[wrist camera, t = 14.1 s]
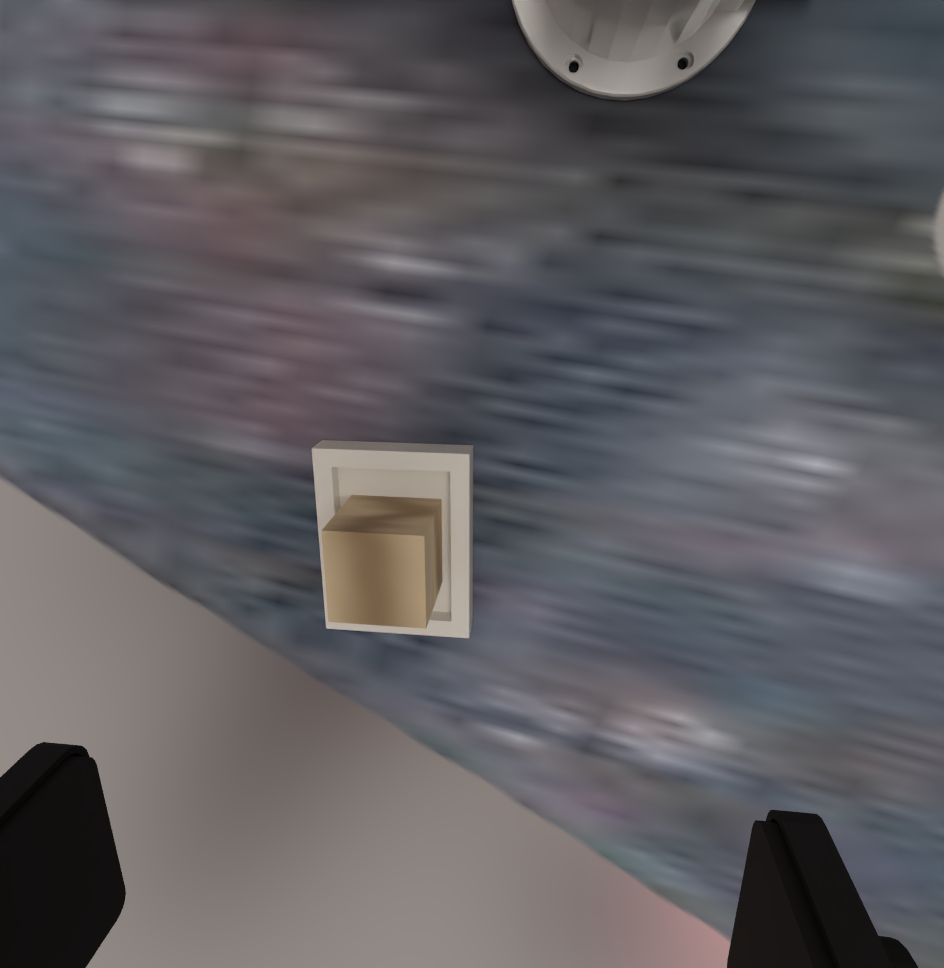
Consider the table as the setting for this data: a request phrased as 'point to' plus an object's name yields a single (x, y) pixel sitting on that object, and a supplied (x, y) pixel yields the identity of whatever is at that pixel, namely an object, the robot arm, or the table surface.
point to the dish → (416, 477)
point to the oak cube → (383, 561)
